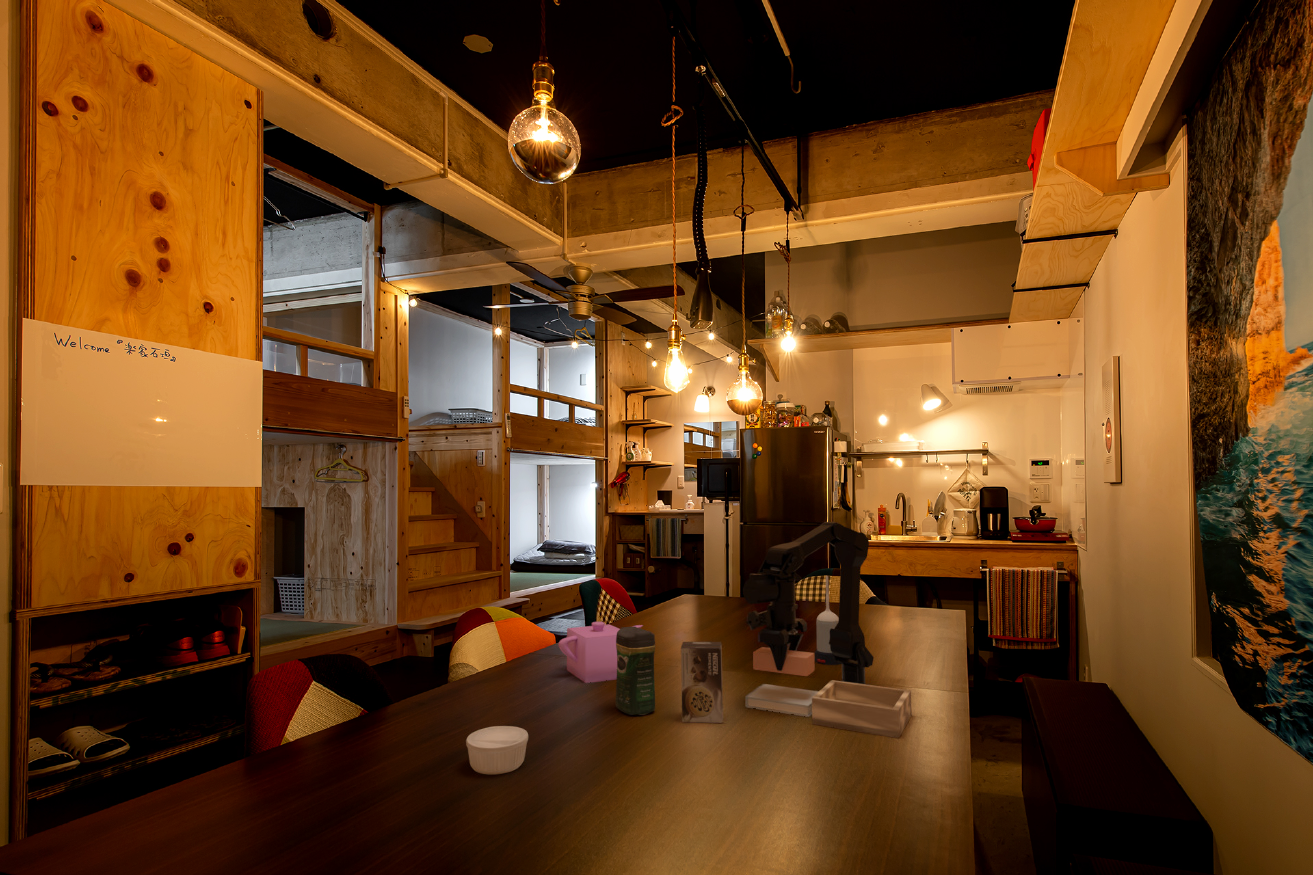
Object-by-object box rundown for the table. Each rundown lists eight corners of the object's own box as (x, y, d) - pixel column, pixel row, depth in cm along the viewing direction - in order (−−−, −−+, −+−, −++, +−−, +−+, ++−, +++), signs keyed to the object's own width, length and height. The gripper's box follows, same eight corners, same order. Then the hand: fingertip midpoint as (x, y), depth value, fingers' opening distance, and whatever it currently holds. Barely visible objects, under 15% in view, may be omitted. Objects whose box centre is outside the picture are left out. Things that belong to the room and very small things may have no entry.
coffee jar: (660, 712, 158) (660, 629, 159) (630, 718, 154) (630, 633, 155) (640, 701, 166) (640, 622, 167) (610, 706, 162) (611, 626, 163)
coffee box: (722, 714, 157) (722, 641, 158) (722, 723, 150) (722, 647, 152) (682, 713, 158) (682, 640, 159) (680, 722, 151) (680, 646, 152)
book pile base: (763, 694, 172) (763, 683, 172) (823, 702, 165) (823, 692, 165) (745, 707, 162) (745, 696, 162) (808, 717, 155) (808, 705, 155)
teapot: (654, 674, 191) (654, 622, 192) (567, 685, 180) (568, 630, 181) (631, 662, 205) (631, 614, 206) (549, 672, 194) (550, 621, 195)
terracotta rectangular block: (762, 663, 170) (761, 647, 170) (814, 670, 164) (814, 652, 164) (753, 669, 165) (753, 651, 165) (807, 676, 158) (806, 658, 159)
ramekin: (473, 782, 120) (473, 750, 121) (459, 760, 130) (460, 731, 130) (535, 770, 125) (536, 740, 126) (518, 749, 135) (518, 722, 136)
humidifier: (815, 664, 202) (813, 577, 204) (813, 657, 210) (812, 574, 212) (844, 665, 201) (842, 578, 203) (841, 658, 209) (839, 574, 211)
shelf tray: (832, 703, 164) (831, 680, 165) (911, 715, 156) (911, 690, 156) (812, 724, 150) (811, 697, 150) (898, 738, 141) (898, 710, 142)
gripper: (764, 593, 177) (764, 655, 176) (736, 603, 161) (737, 672, 160) (806, 596, 172) (808, 660, 171) (782, 607, 156) (783, 678, 154)
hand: (783, 667), depth 164 cm, fingers closed on terracotta rectangular block, 6 cm apart
